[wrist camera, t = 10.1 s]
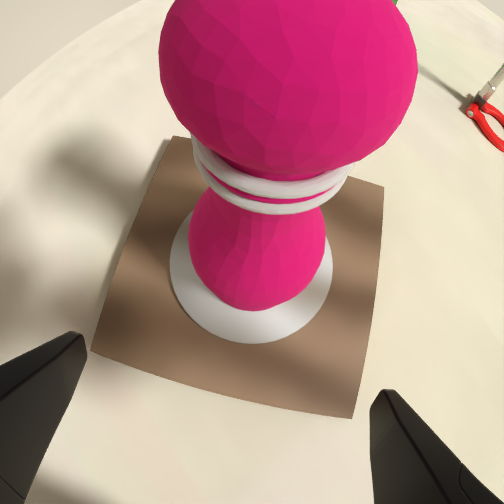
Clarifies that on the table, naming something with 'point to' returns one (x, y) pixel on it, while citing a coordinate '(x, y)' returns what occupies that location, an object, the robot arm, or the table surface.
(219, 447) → the table surface
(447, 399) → the table surface
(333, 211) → the brown flat square slab
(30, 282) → the table surface
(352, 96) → the pepper mill
